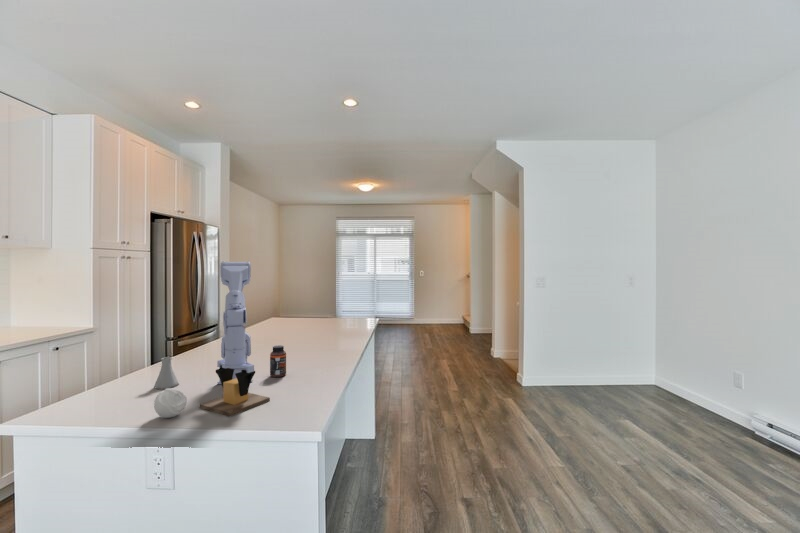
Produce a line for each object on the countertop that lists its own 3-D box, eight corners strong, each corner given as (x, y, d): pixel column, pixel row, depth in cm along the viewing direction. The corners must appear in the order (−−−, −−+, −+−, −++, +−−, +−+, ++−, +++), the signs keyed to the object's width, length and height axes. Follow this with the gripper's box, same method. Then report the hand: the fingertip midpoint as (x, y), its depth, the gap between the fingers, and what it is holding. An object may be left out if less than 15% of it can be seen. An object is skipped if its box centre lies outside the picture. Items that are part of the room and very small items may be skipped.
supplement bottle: (281, 378, 141) (281, 348, 141) (266, 377, 142) (266, 347, 142) (289, 373, 146) (288, 345, 146) (275, 373, 148) (275, 344, 148)
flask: (149, 388, 130) (149, 359, 130) (169, 382, 136) (169, 355, 136) (163, 390, 127) (163, 361, 127) (183, 384, 134) (183, 356, 134)
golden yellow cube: (223, 401, 113) (223, 382, 113) (237, 396, 117) (237, 377, 117) (234, 404, 110) (234, 384, 111) (248, 399, 115) (248, 380, 115)
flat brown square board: (199, 407, 111) (199, 392, 111) (240, 393, 123) (239, 380, 123) (230, 416, 104) (230, 400, 104) (269, 400, 116) (269, 386, 116)
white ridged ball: (168, 423, 100) (168, 394, 100) (146, 420, 102) (146, 392, 102) (192, 412, 107) (192, 385, 107) (171, 410, 109) (171, 383, 109)
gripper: (208, 348, 114) (208, 393, 114) (239, 353, 107) (239, 401, 107) (228, 344, 120) (228, 386, 120) (259, 348, 113) (259, 393, 113)
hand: (235, 393), depth 114 cm, fingers open, 7 cm apart
